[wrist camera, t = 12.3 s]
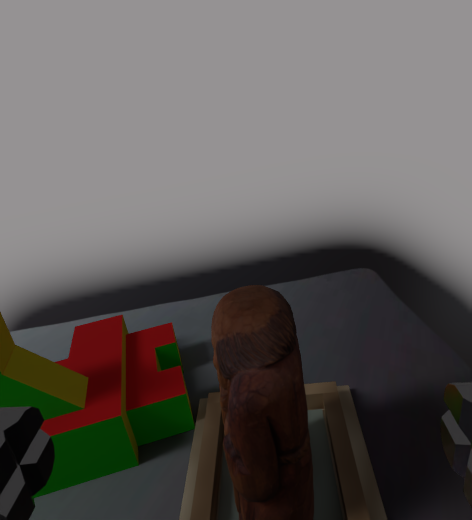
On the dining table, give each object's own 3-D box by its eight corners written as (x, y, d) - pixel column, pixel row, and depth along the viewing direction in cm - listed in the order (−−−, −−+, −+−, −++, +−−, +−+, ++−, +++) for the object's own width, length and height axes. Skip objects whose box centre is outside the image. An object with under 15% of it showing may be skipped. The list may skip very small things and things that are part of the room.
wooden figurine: (238, 435, 40) (204, 267, 33) (305, 428, 40) (285, 256, 32) (236, 568, 29) (184, 362, 22) (328, 561, 29) (305, 348, 22)
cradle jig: (159, 660, 26) (148, 636, 25) (201, 404, 46) (196, 384, 45) (423, 654, 24) (425, 628, 23) (348, 391, 44) (347, 370, 43)
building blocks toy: (199, 448, 41) (155, 284, 34) (-75, 534, 37) (-192, 370, 30) (177, 344, 58) (145, 220, 51) (-12, 395, 54) (-77, 269, 47)
